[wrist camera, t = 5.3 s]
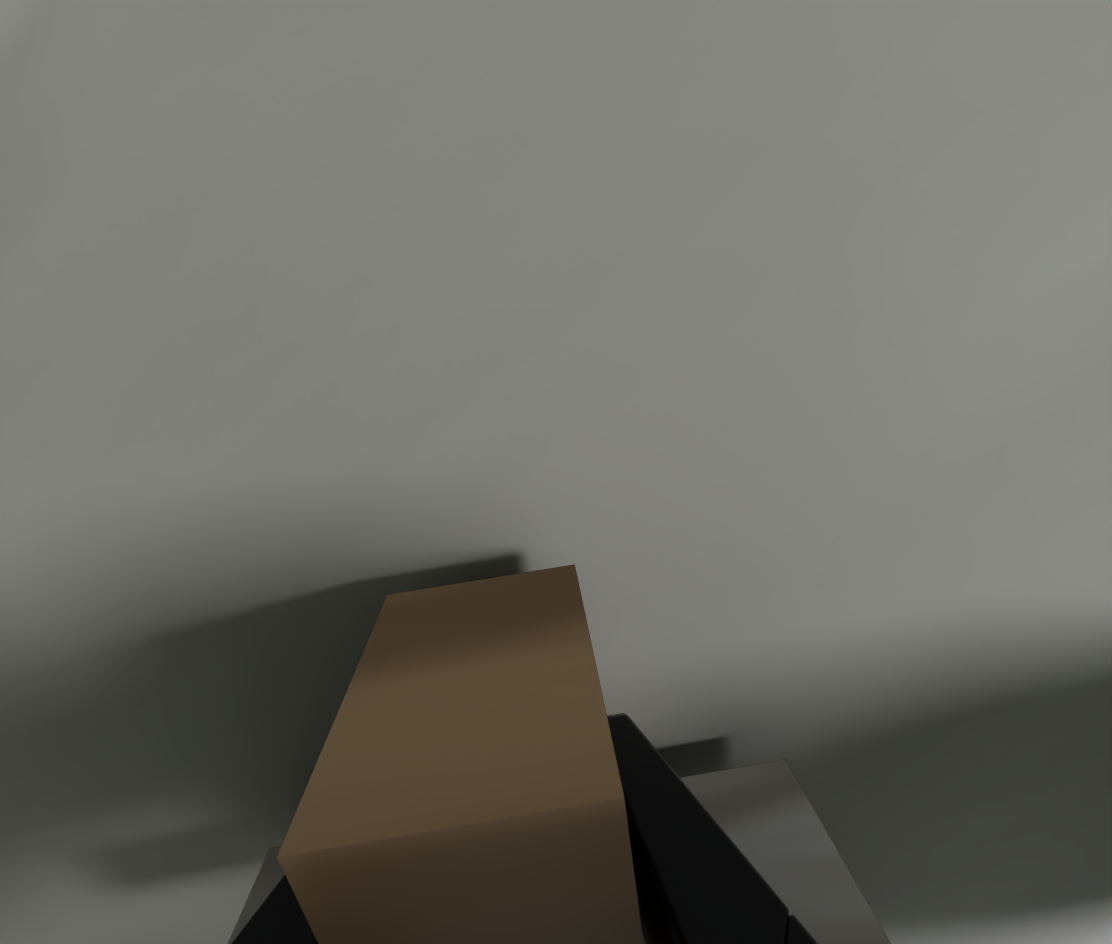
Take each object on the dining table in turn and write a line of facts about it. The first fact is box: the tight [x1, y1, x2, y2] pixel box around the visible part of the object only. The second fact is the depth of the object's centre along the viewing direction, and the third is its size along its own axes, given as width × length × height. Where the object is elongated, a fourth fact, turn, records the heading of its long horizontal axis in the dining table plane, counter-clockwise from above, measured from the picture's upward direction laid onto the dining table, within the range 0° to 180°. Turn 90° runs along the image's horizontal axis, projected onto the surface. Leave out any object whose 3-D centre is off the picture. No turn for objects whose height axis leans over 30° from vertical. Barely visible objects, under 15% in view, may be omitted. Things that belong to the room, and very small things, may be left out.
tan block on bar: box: [228, 565, 891, 944], centre depth 7 cm, size 6×10×4 cm, turn 98°
